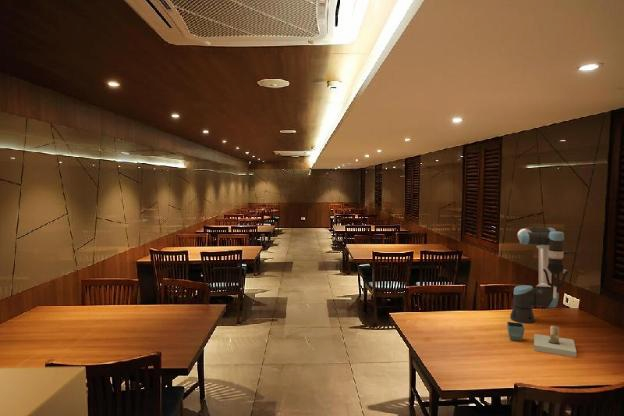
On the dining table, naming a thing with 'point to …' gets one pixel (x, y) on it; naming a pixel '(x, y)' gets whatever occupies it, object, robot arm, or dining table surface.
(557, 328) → the peg
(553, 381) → the dining table surface
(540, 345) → the board
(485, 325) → the dining table surface
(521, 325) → the flower pot
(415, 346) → the dining table surface
